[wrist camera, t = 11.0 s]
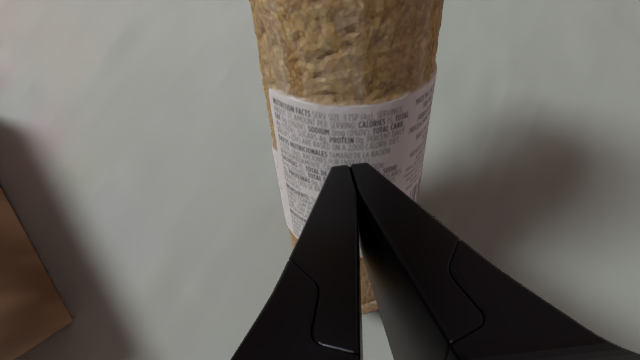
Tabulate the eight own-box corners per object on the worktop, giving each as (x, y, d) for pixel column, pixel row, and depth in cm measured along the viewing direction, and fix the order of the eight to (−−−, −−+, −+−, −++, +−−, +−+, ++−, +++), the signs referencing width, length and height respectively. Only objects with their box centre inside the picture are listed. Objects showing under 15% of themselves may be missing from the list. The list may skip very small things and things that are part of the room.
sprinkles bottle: (325, 213, 17) (292, -205, 8) (423, 245, 15) (513, -243, 7) (270, 292, 14) (130, -231, 5) (384, 343, 12) (455, -314, 4)
